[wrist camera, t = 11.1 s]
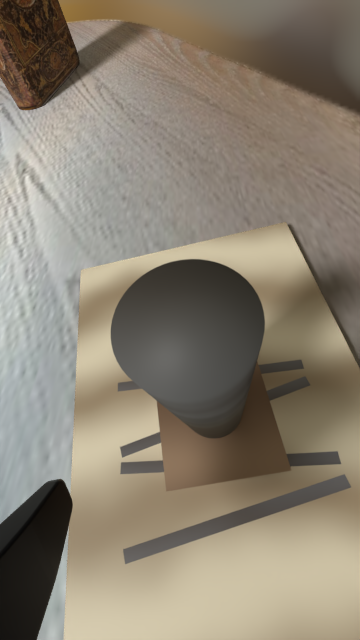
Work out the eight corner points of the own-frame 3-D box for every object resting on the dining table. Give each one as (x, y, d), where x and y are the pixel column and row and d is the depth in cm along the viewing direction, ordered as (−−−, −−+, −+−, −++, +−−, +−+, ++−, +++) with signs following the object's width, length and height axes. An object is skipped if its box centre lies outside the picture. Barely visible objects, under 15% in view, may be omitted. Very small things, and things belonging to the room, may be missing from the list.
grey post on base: (283, 469, 14) (442, 496, 4) (173, 488, 14) (26, 561, 4) (247, 348, 17) (274, 181, 7) (159, 366, 18) (59, 234, 7)
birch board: (475, 627, 11) (496, 641, 10) (73, 673, 12) (61, 689, 12) (283, 231, 23) (285, 222, 22) (86, 276, 24) (81, 269, 23)
